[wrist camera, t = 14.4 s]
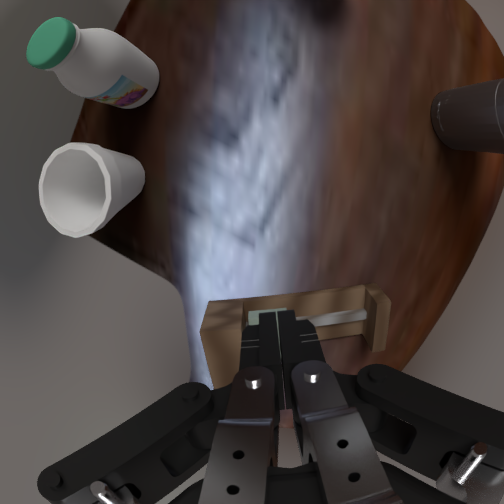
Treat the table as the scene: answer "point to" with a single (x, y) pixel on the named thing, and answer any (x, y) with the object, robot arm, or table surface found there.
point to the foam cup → (87, 187)
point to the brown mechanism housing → (305, 307)
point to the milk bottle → (94, 63)
